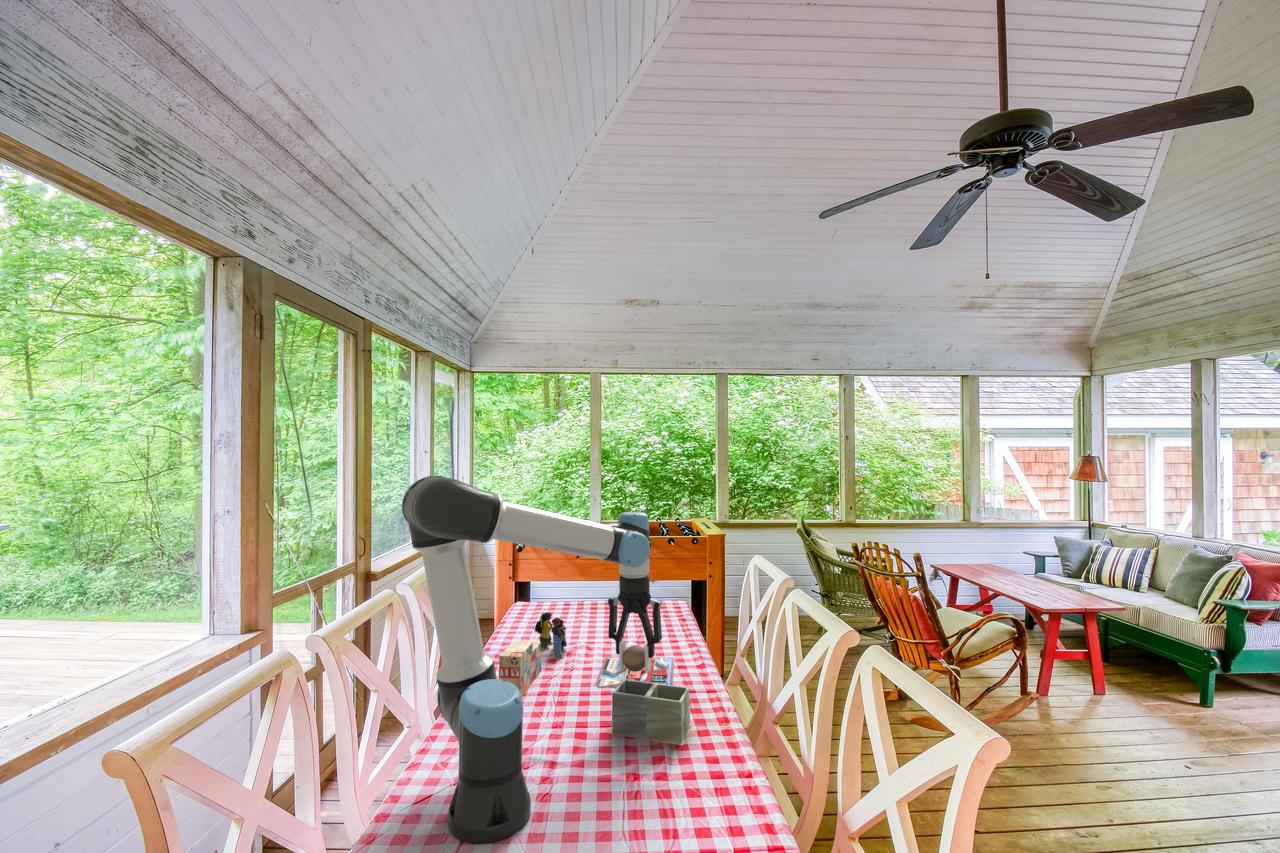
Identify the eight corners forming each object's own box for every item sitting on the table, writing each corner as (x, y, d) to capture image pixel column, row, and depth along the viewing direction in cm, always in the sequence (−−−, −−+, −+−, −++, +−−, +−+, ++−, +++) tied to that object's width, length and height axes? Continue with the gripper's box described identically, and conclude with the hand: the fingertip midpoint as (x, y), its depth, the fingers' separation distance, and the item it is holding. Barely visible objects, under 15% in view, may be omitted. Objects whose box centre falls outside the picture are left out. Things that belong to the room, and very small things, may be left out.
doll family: (582, 656, 192) (582, 616, 192) (559, 663, 186) (559, 622, 186) (545, 639, 209) (545, 603, 210) (523, 645, 203) (524, 607, 204)
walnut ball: (642, 677, 137) (643, 652, 137) (619, 673, 139) (619, 648, 139) (649, 667, 143) (650, 643, 143) (627, 664, 145) (627, 640, 145)
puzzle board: (605, 660, 190) (605, 652, 191) (673, 662, 189) (673, 654, 189) (590, 699, 160) (590, 689, 160) (671, 702, 158) (671, 692, 158)
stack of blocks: (522, 670, 180) (522, 631, 181) (541, 671, 179) (541, 631, 180) (498, 699, 159) (498, 654, 159) (520, 700, 158) (520, 655, 159)
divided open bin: (682, 749, 132) (682, 703, 132) (608, 737, 137) (609, 693, 138) (692, 729, 141) (692, 686, 142) (622, 719, 147) (622, 677, 147)
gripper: (674, 573, 142) (676, 667, 141) (604, 569, 148) (605, 659, 147) (666, 580, 135) (667, 679, 134) (593, 575, 141) (594, 670, 140)
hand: (635, 668), depth 141 cm, fingers closed on walnut ball, 6 cm apart
